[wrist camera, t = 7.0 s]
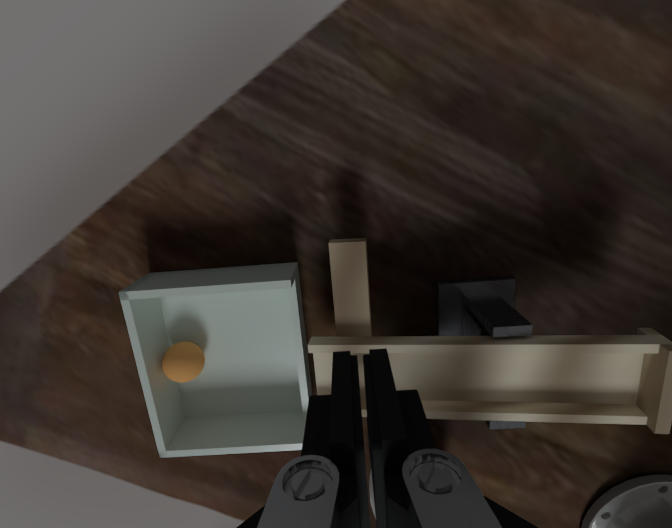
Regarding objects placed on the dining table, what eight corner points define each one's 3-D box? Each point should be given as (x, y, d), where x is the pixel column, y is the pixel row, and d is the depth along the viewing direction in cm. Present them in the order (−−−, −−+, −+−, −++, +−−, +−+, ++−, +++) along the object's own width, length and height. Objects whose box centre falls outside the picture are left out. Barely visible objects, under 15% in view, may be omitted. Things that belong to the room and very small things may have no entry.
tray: (314, 412, 34) (310, 449, 30) (182, 419, 35) (159, 457, 30) (297, 261, 30) (290, 280, 26) (149, 272, 31) (118, 292, 26)
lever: (668, 224, 23) (707, 234, 20) (638, 404, 26) (669, 435, 23) (304, 240, 26) (293, 251, 23) (321, 397, 29) (313, 424, 27)
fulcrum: (512, 276, 31) (562, 312, 24) (507, 375, 33) (551, 434, 26) (436, 282, 31) (464, 319, 24) (437, 380, 33) (462, 439, 26)
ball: (215, 370, 32) (191, 393, 29) (183, 367, 33) (157, 388, 30) (209, 335, 31) (183, 355, 28) (176, 333, 32) (148, 352, 29)
